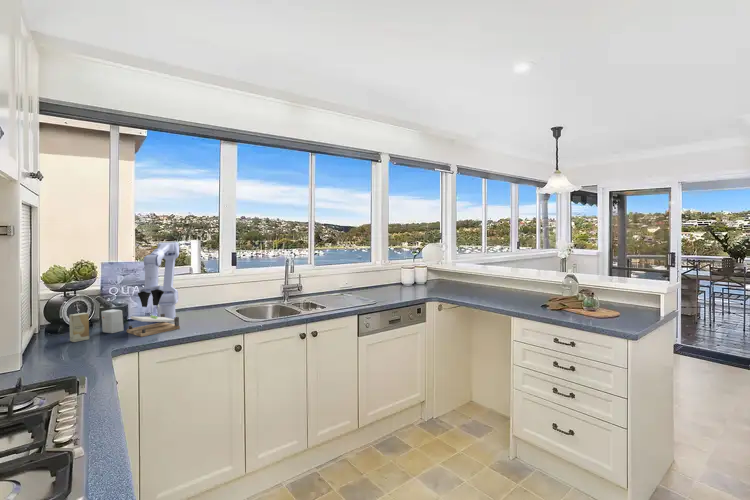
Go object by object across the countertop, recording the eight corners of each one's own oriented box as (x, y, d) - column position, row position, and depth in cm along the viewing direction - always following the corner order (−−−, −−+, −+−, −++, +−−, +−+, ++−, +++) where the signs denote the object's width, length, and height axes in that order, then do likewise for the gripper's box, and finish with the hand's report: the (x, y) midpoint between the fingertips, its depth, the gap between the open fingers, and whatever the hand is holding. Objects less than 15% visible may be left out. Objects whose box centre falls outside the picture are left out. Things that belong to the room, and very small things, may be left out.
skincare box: (73, 342, 170) (72, 315, 169) (69, 341, 172) (68, 314, 172) (90, 339, 175) (88, 312, 175) (86, 337, 178) (84, 312, 177)
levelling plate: (130, 318, 186) (131, 313, 187) (164, 319, 200) (165, 314, 200) (141, 321, 179) (142, 316, 179) (176, 322, 192) (177, 317, 193)
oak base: (126, 332, 187) (126, 320, 186) (164, 324, 201) (163, 313, 201) (141, 336, 177) (140, 324, 177) (179, 328, 192) (179, 316, 192)
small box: (123, 330, 190) (122, 310, 189) (112, 333, 185) (110, 312, 184) (113, 329, 193) (112, 309, 193) (102, 332, 188) (101, 311, 188)
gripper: (133, 279, 187) (131, 307, 185) (154, 276, 182) (153, 304, 179) (146, 280, 194) (145, 307, 191) (167, 277, 189) (166, 305, 186)
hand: (149, 306), depth 186 cm, fingers open, 7 cm apart
